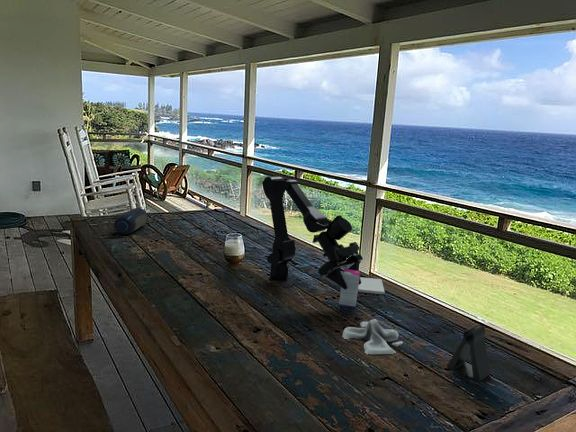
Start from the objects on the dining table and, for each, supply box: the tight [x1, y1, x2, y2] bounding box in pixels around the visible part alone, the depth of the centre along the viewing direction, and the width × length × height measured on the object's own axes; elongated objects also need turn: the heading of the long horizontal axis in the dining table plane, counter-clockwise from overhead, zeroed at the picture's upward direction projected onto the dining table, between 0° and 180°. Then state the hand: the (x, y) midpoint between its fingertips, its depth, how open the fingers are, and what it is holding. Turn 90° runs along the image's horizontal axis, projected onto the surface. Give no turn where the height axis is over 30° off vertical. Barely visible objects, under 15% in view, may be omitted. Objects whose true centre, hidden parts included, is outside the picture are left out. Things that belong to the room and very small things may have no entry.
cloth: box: [341, 318, 404, 355], centre depth 137 cm, size 22×19×6 cm
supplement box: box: [338, 268, 361, 309], centre depth 160 cm, size 6×6×12 cm
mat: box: [358, 276, 386, 295], centre depth 180 cm, size 14×14×1 cm
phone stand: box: [446, 324, 492, 383], centre depth 121 cm, size 9×6×12 cm, turn 42°
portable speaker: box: [113, 207, 149, 235], centre depth 237 cm, size 25×10×10 cm, turn 176°
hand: (353, 286), depth 158 cm, fingers closed on supplement box, 7 cm apart
